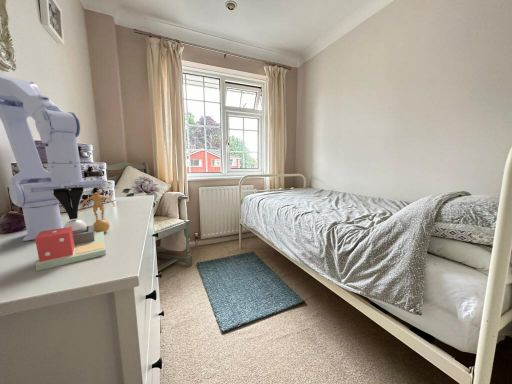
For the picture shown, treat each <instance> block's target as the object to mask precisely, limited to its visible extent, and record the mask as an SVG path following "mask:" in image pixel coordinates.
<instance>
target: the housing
mask: <svg viewBox="0 0 512 384" xmlns="http://www.w3.org/2000/svg"><path fill="white" fill-rule="evenodd" d="M86 226H87V232H84V233H78V234H73V239H74V245H77V244H82V243H87V242H92V241H95V233H96V232H95V231H94V225H93V224H91V225H86Z"/></svg>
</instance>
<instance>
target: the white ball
mask: <svg viewBox="0 0 512 384" xmlns="http://www.w3.org/2000/svg"><path fill="white" fill-rule="evenodd" d="M63 226H64V228H66V227H72V233H73V234H78V233H84V232H87V226H88V225H87V224H86V222H84V221H83V220H82V219H71V220H69V221H67V222H66V223H65V224H64V225H63Z"/></svg>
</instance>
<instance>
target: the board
mask: <svg viewBox="0 0 512 384" xmlns="http://www.w3.org/2000/svg"><path fill="white" fill-rule="evenodd" d="M105 238H106V237H105V232H104V231H103V232H97V233H96V232H95V241H92V242H87V243H82V244H77V245H75V248H74V252H73V255H70V256H65V257H61V258H56V259H52V260H47V261H42V262H39V259H38V261H37V262H36V264H35V268H36V272H38V271H42V270H47V269H50V268H54V267H55V268H56V267H59V266H63V265H67V264H72V263H76V262H80V261H81V262H82V261H85V260H89V259H94V258H96V257H97V258H98V257H101V256H106V255H107V253H106V241H105Z"/></svg>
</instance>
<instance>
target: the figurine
mask: <svg viewBox="0 0 512 384" xmlns="http://www.w3.org/2000/svg"><path fill="white" fill-rule="evenodd" d="M102 199H104V200H105V199H106V200H109V202H110V203H111V204H112V206H113V207H116V204H115V203H114V201H113V200H112V198H110V197H108V196H104V195H101V194H99V193H98V192H94V194H93V195H91V196H89V197H87V198H85V199H84V200H82V203H81V206H80V208H79V212H82V210H83V208H84V206H85V203H86V202H88V201H91V200H92V201H93V203H94V204H93V205H92V211H93V213H94V216H95V222H93V224H92V225H94V231H95V233H97V232H103V231H104V233H106V232H107V231H109V229H110V223H109V221H107V220H105V217H104V214H105V212H104V211H105V207H104V203H101V202H102ZM98 208H99V210H100V211H101V213H100V214H101V219H99V216H98V213H97V211H98Z"/></svg>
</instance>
